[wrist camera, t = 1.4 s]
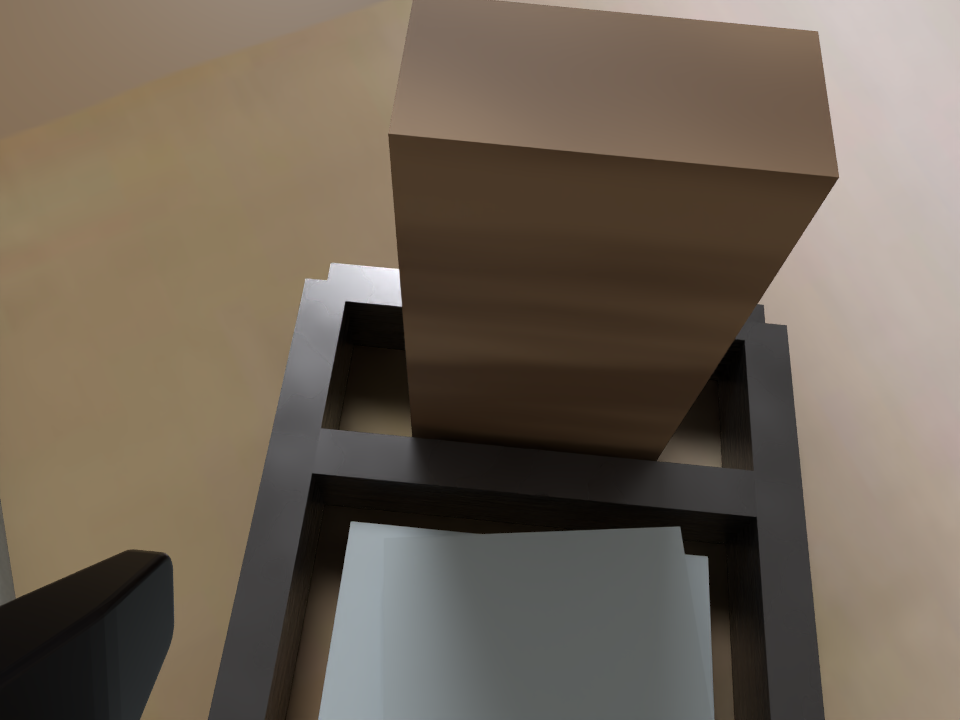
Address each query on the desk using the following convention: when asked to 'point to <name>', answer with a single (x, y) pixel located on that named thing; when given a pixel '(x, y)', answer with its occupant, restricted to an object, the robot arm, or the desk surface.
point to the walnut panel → (591, 213)
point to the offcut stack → (520, 627)
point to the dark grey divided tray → (524, 501)
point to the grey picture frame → (5, 567)
